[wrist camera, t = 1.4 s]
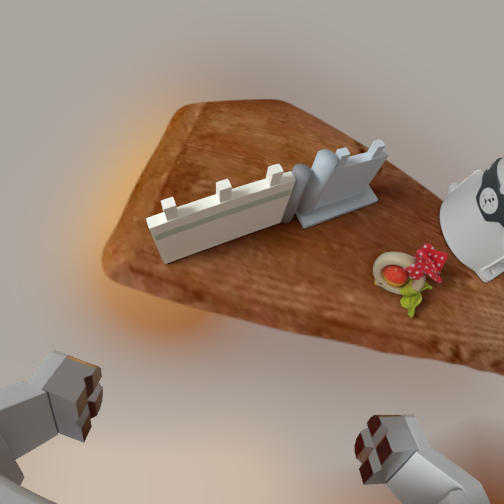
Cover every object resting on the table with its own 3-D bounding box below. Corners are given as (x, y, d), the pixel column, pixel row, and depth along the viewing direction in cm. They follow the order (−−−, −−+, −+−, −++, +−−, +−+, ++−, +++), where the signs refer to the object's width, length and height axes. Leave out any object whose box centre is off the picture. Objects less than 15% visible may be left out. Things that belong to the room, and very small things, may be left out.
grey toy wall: (359, 176, 48) (391, 123, 37) (376, 202, 47) (413, 153, 35) (287, 199, 45) (308, 141, 34) (303, 229, 44) (331, 176, 32)
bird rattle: (364, 306, 42) (424, 324, 38) (367, 266, 33) (444, 288, 29) (377, 268, 45) (434, 284, 41) (381, 221, 36) (453, 241, 32)
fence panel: (288, 208, 44) (309, 151, 33) (294, 220, 44) (318, 165, 32) (161, 253, 40) (140, 203, 29) (165, 267, 39) (145, 221, 28)
